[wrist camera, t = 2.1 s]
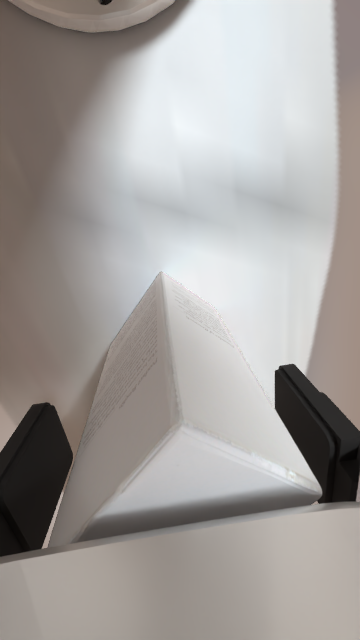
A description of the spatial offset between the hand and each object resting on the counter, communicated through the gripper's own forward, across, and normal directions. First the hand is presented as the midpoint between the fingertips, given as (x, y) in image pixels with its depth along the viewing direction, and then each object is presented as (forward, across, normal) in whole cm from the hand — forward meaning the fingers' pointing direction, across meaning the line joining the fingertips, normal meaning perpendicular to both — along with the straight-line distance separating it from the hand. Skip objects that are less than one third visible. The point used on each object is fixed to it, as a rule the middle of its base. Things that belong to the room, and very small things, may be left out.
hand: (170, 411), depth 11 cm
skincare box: (+7, 0, -1) cm, 7 cm away
